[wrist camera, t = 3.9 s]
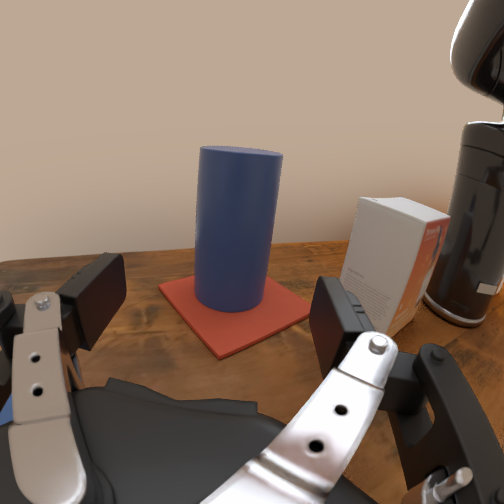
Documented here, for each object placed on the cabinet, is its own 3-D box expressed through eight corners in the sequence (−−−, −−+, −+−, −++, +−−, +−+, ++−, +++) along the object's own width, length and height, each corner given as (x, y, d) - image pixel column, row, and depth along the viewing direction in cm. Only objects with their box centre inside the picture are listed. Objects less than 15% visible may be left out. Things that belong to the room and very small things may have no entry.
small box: (376, 353, 19) (427, 222, 14) (326, 316, 23) (357, 194, 18) (415, 317, 23) (453, 215, 19) (373, 292, 27) (401, 195, 23)
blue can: (236, 269, 28) (248, 147, 23) (277, 298, 24) (300, 156, 19) (182, 284, 24) (186, 145, 19) (219, 321, 20) (231, 152, 15)
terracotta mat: (245, 264, 30) (245, 261, 30) (316, 312, 23) (317, 308, 23) (158, 288, 24) (158, 284, 24) (219, 360, 17) (219, 356, 17)
